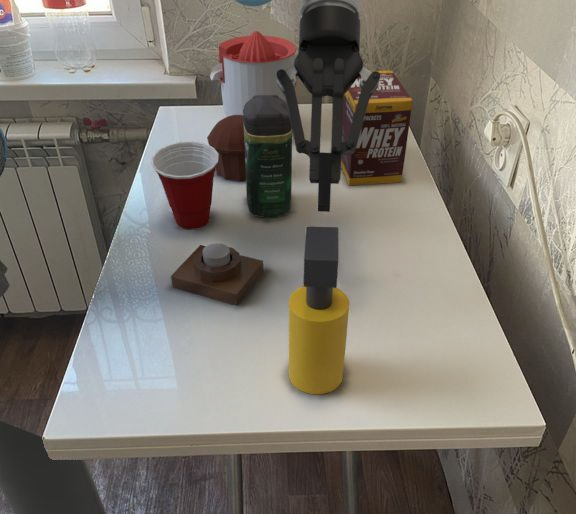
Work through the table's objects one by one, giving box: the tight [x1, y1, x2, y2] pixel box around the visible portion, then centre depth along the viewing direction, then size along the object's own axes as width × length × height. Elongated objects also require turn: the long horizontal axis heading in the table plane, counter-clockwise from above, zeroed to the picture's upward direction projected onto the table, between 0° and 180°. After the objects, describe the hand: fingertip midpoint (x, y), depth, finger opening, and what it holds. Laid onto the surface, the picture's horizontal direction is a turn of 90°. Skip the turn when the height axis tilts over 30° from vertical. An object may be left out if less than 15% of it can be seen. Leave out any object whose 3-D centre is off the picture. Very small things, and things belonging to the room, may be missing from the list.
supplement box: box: [341, 70, 414, 186], centre depth 116 cm, size 10×15×16 cm
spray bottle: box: [288, 225, 350, 395], centre depth 73 cm, size 8×7×20 cm
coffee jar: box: [243, 95, 293, 219], centre depth 104 cm, size 10×8×19 cm
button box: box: [170, 244, 265, 307], centre depth 93 cm, size 11×9×4 cm
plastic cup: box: [150, 140, 218, 230], centre depth 102 cm, size 11×11×12 cm
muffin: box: [206, 115, 246, 182], centre depth 117 cm, size 12×11×10 cm
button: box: [203, 242, 230, 267], centre depth 91 cm, size 4×4×2 cm
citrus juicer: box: [209, 30, 297, 117], centre depth 126 cm, size 16×17×20 cm
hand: (323, 208), depth 76 cm, fingers closed
